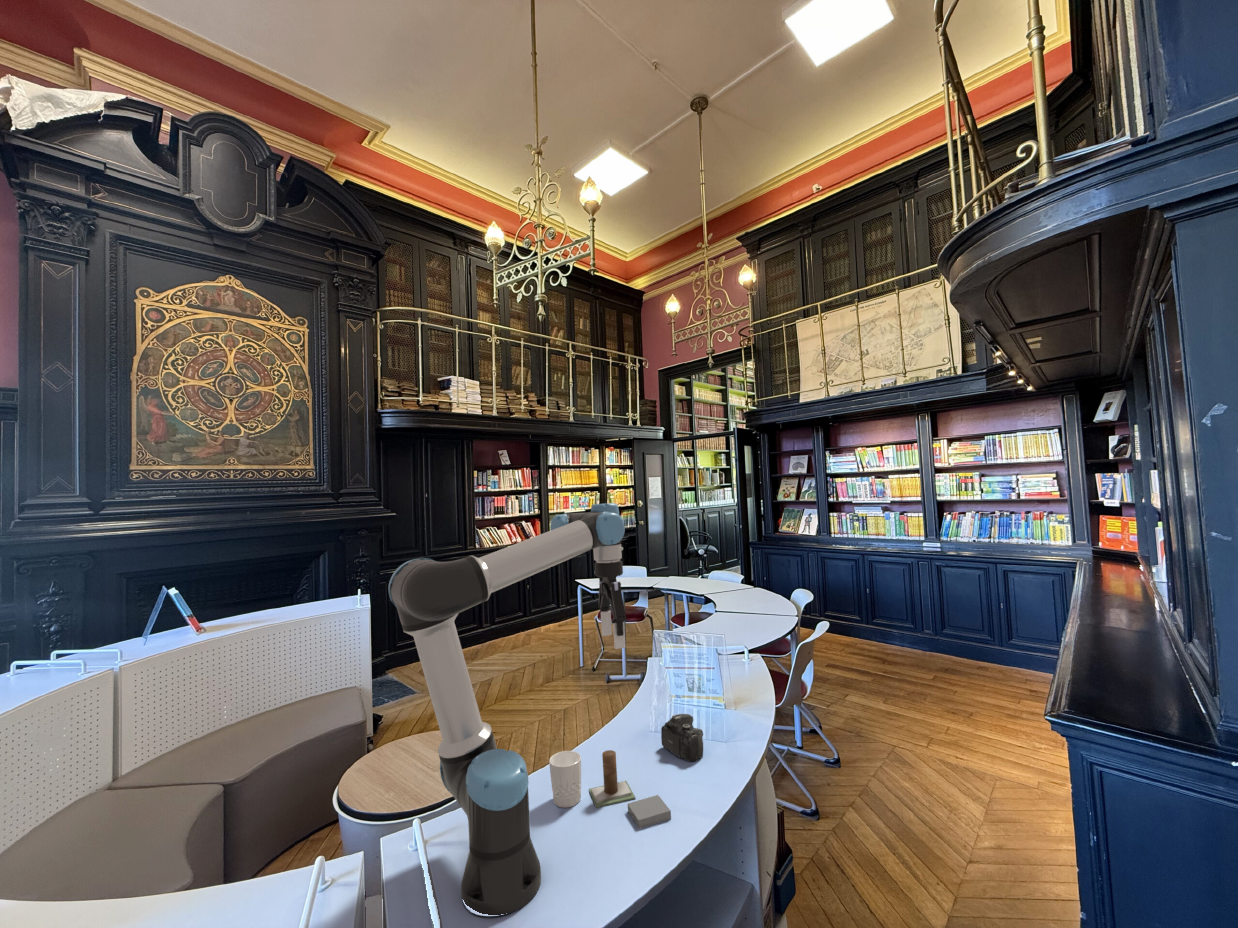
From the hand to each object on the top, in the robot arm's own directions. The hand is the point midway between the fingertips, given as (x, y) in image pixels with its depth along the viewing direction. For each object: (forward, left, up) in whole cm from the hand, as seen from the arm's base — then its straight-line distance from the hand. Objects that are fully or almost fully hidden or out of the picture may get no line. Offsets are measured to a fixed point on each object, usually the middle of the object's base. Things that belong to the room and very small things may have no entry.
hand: (613, 641), depth 135 cm
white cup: (-15, -2, -37) cm, 39 cm away
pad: (-4, -4, -36) cm, 37 cm away
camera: (+21, +10, -37) cm, 44 cm away
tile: (+2, -11, -36) cm, 37 cm away
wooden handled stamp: (-4, -4, -36) cm, 36 cm away
